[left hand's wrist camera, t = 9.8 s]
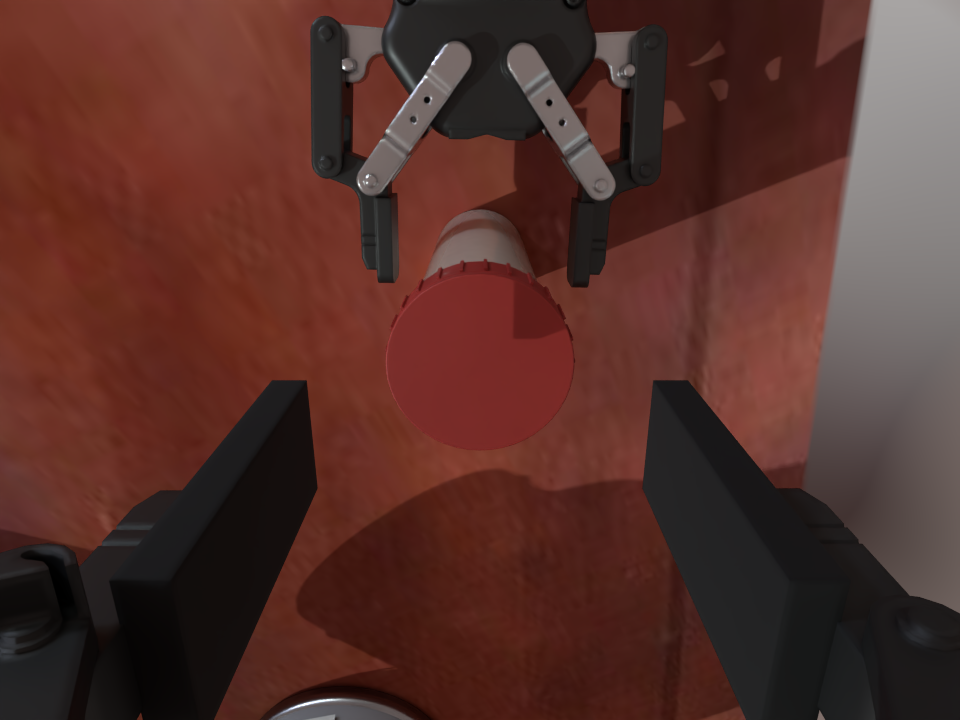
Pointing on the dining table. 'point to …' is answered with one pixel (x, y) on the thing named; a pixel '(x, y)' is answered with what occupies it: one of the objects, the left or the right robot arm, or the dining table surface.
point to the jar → (479, 242)
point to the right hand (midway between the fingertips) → (483, 281)
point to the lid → (480, 356)
